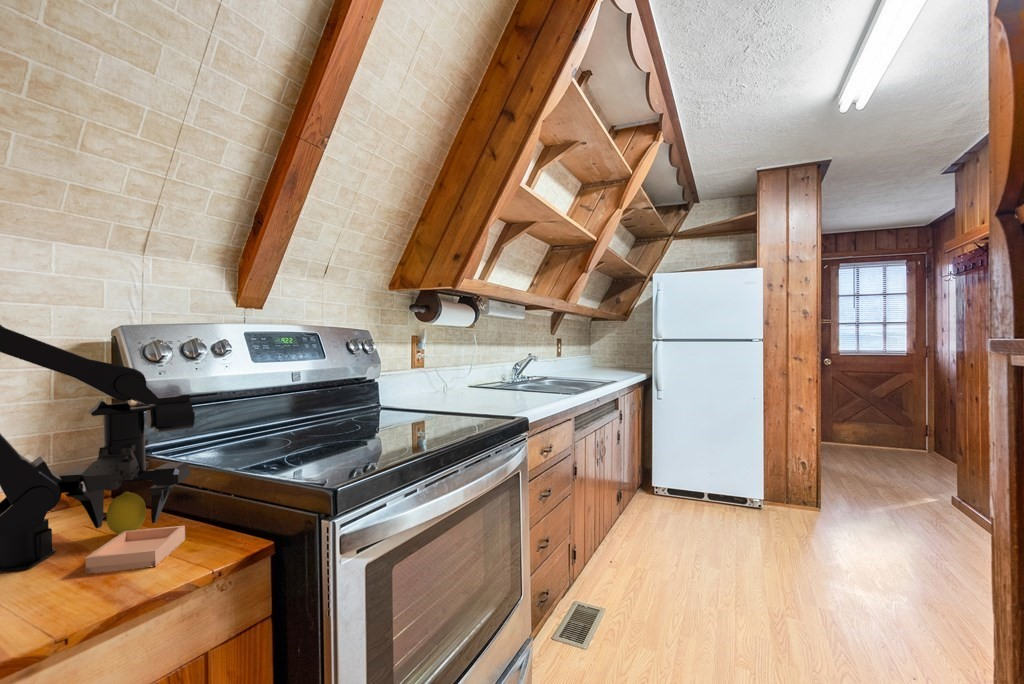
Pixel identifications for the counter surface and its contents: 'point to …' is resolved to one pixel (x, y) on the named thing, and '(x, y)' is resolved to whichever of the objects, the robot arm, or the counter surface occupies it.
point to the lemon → (126, 513)
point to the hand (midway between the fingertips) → (126, 524)
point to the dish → (135, 549)
